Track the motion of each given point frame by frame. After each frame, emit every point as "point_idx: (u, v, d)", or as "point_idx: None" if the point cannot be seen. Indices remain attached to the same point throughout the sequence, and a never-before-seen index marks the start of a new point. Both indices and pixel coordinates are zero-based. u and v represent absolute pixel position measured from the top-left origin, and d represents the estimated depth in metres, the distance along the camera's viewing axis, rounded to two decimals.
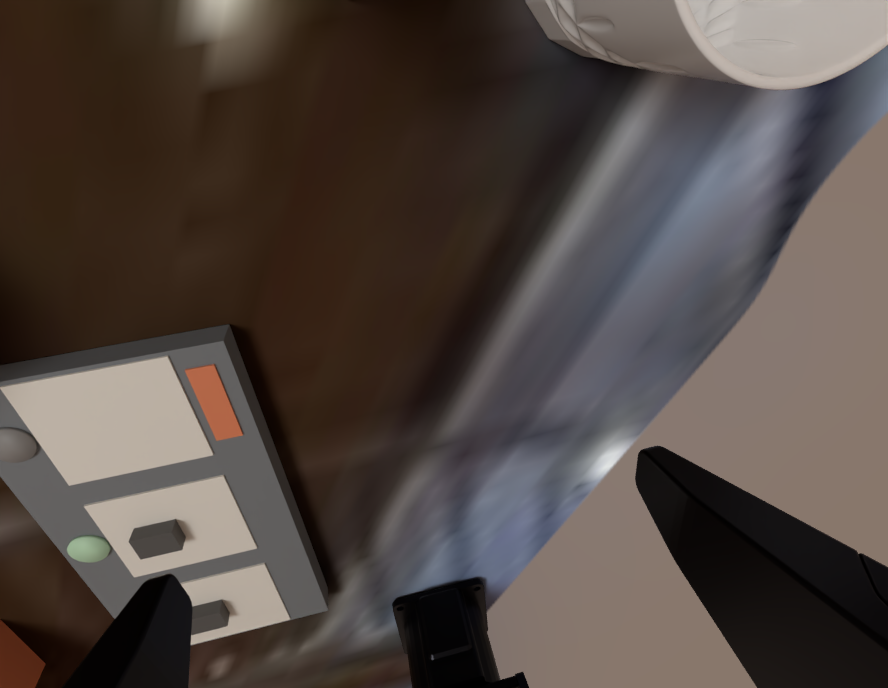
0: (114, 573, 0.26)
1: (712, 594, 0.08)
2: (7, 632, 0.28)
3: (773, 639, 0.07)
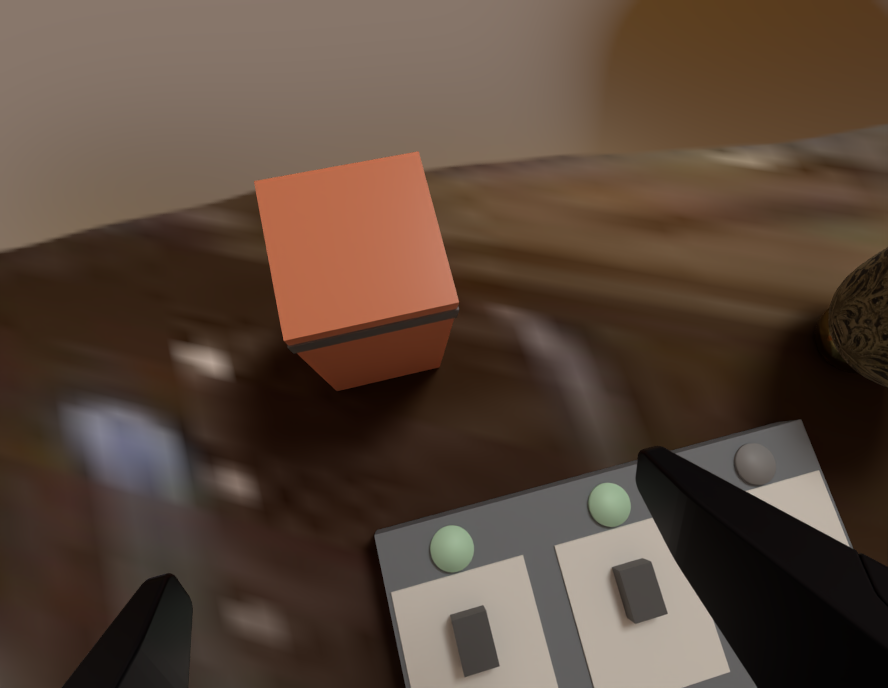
0: (560, 523, 0.21)
1: (712, 594, 0.08)
2: (419, 371, 0.24)
3: (773, 639, 0.07)
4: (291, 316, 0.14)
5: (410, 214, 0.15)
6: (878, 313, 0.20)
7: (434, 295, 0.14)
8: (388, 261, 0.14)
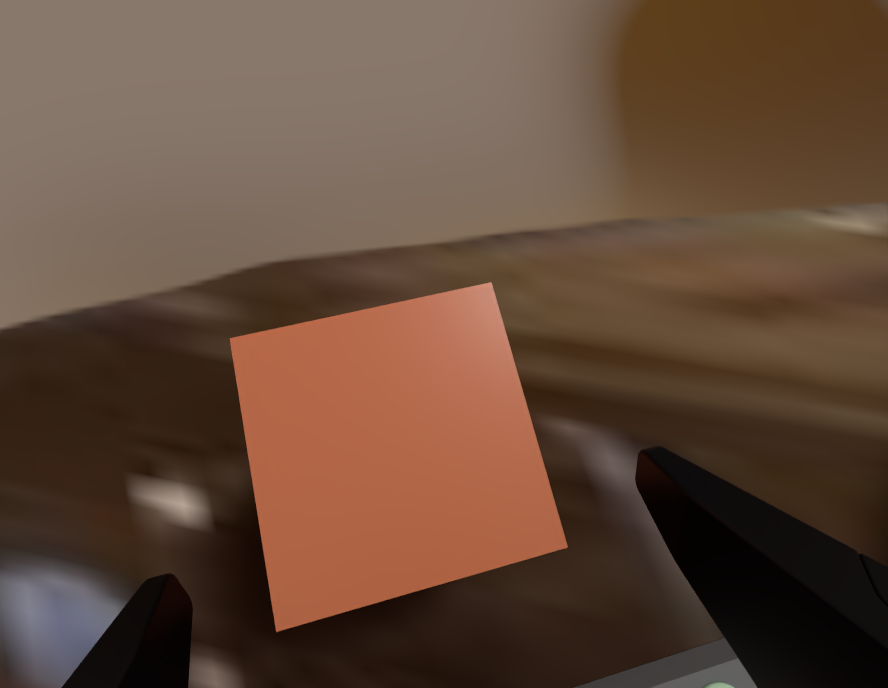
0: None
1: (712, 594, 0.08)
2: None
3: (773, 639, 0.07)
4: (289, 584, 0.08)
5: (482, 391, 0.09)
6: None
7: (527, 536, 0.09)
8: (449, 476, 0.09)
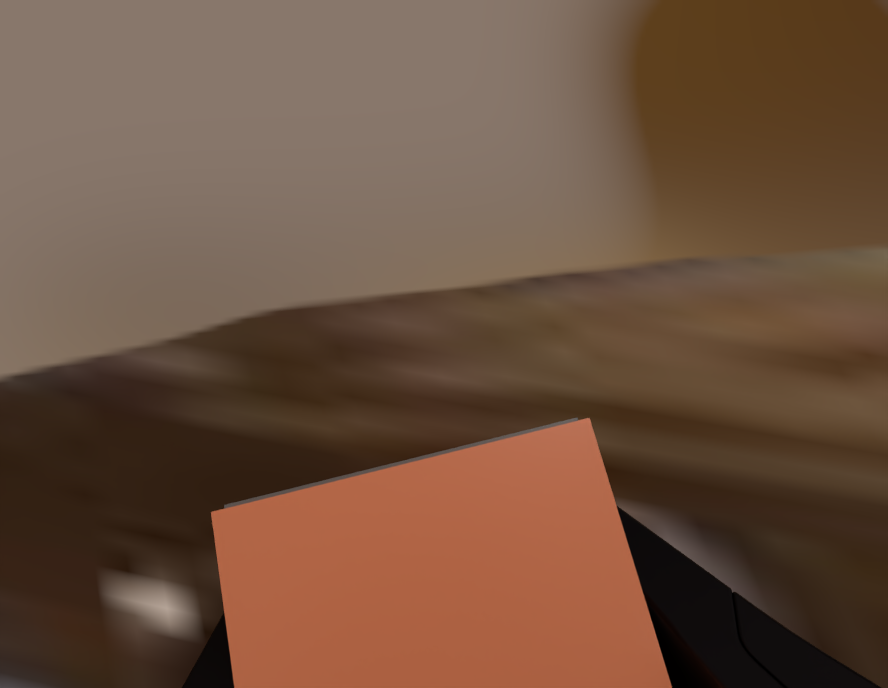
0: None
1: None
2: None
3: None
4: None
5: (583, 589, 0.06)
6: None
7: None
8: None
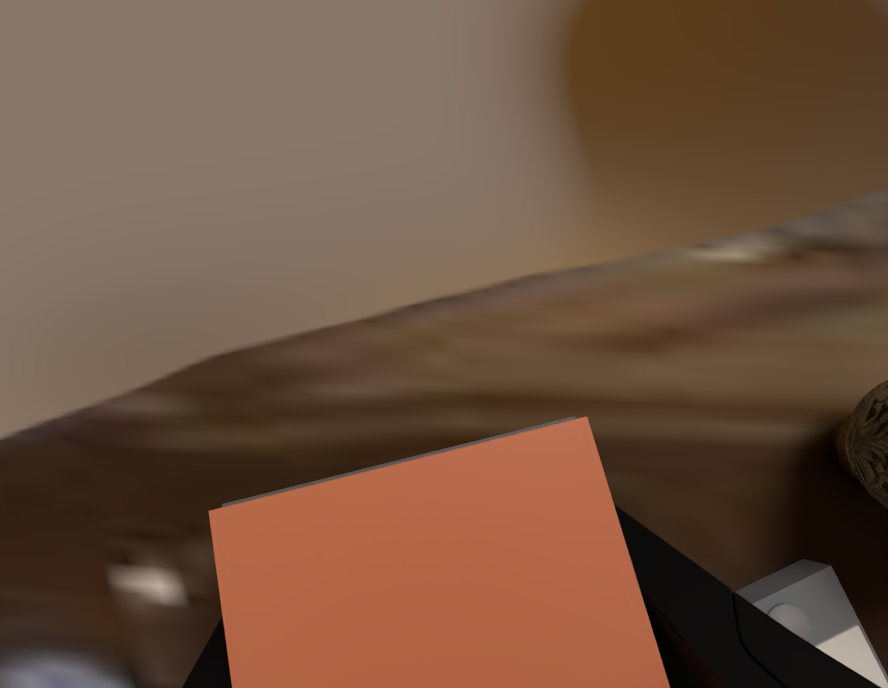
0: None
1: None
2: None
3: None
4: None
5: (581, 588, 0.06)
6: None
7: None
8: None
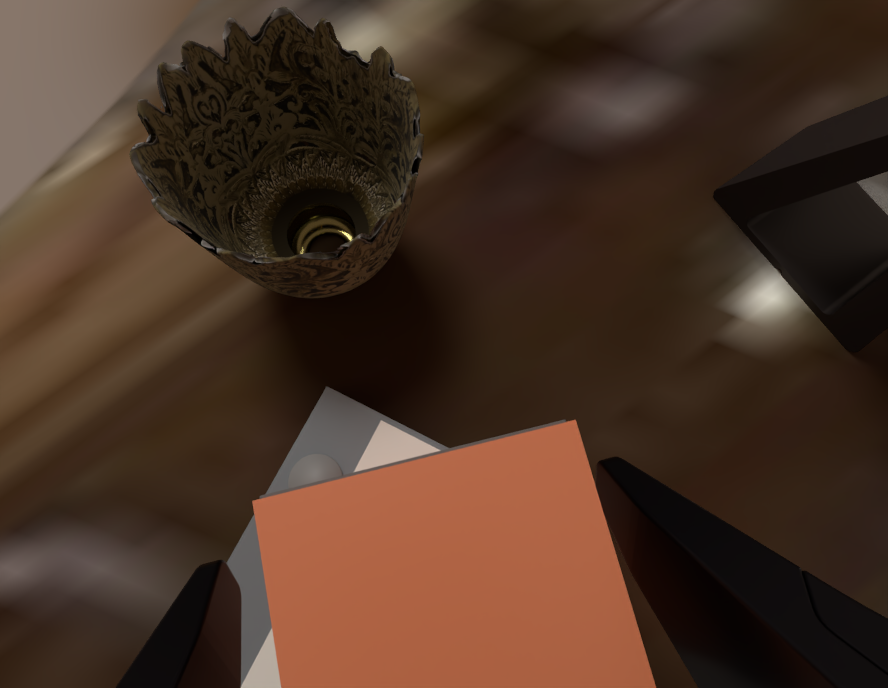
0: None
1: (665, 608, 0.08)
2: None
3: (720, 656, 0.07)
4: None
5: (570, 565, 0.07)
6: None
7: None
8: (533, 683, 0.07)
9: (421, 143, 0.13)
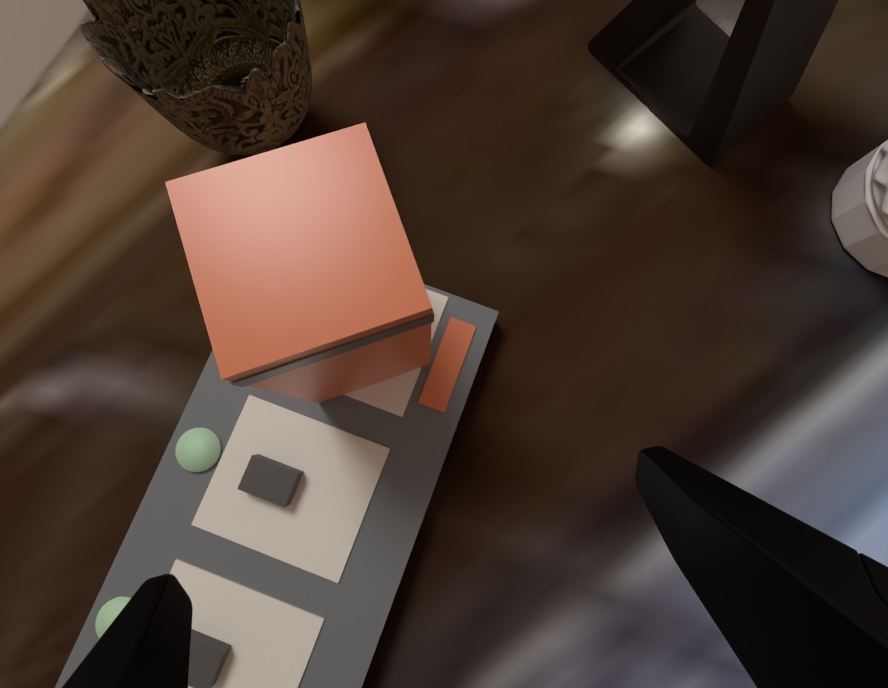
0: (180, 504, 0.20)
1: (712, 594, 0.08)
2: (408, 371, 0.21)
3: (773, 639, 0.07)
4: (227, 347, 0.11)
5: (362, 203, 0.12)
6: (164, 115, 0.19)
7: (401, 302, 0.12)
8: (340, 265, 0.12)
9: None
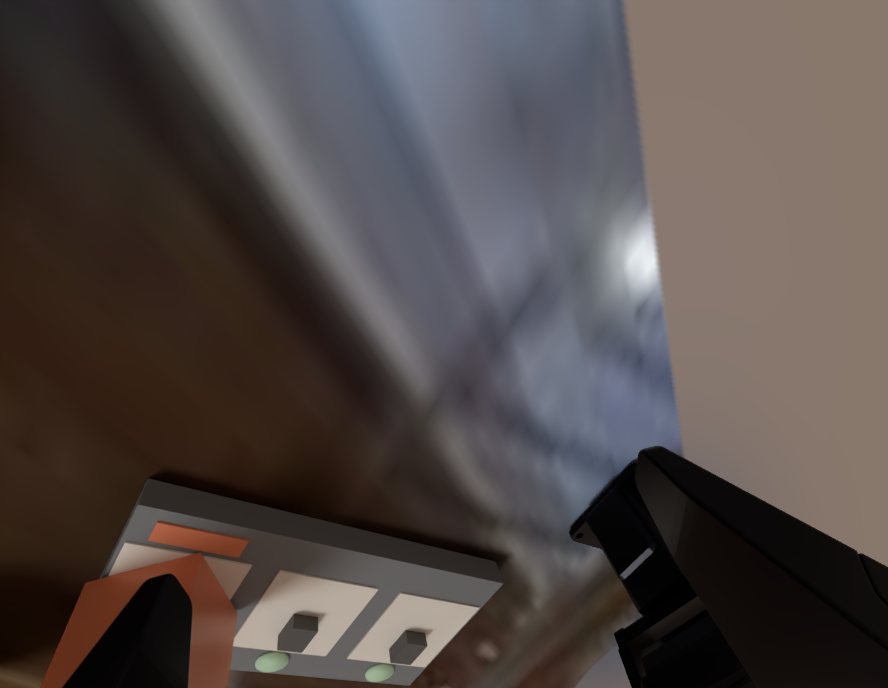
0: (310, 661, 0.29)
1: (712, 594, 0.08)
2: (207, 569, 0.23)
3: (773, 639, 0.07)
4: None
5: None
6: None
7: None
8: None
9: None
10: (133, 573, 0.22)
